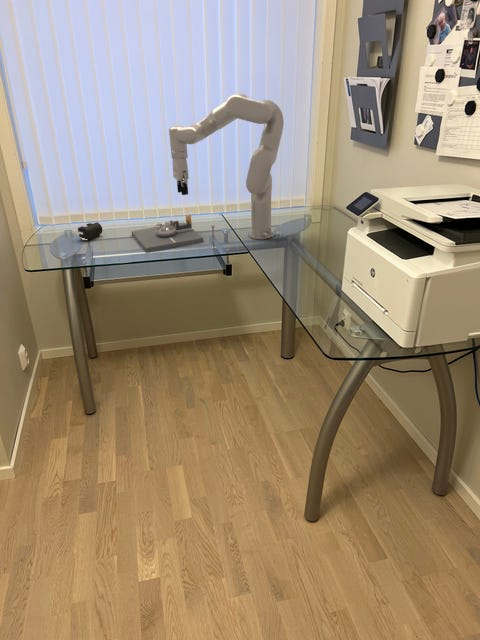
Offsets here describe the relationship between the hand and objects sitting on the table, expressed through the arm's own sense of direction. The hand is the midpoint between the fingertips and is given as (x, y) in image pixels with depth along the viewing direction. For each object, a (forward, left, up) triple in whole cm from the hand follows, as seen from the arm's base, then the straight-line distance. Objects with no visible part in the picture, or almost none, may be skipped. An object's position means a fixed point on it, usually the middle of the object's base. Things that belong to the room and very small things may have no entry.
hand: (183, 193), depth 229 cm
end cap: (+15, +45, -20) cm, 51 cm away
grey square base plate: (-5, +12, -19) cm, 23 cm away
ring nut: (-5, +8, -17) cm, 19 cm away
